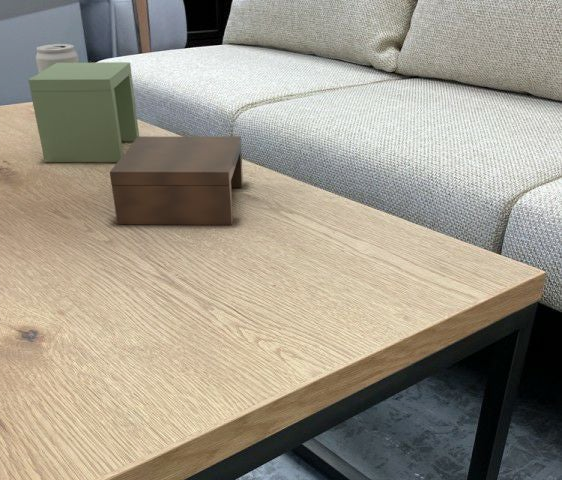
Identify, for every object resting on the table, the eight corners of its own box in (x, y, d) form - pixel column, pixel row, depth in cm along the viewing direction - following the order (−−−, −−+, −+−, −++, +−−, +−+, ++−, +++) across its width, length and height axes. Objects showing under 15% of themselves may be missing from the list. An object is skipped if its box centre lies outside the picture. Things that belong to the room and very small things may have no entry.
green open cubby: (44, 162, 99) (27, 79, 93) (69, 138, 109) (56, 62, 103) (121, 162, 98) (109, 79, 92) (139, 138, 108) (130, 62, 102)
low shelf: (117, 224, 79) (109, 171, 76) (143, 183, 91) (137, 136, 87) (231, 225, 78) (228, 171, 75) (243, 183, 90) (241, 136, 87)
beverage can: (96, 122, 117) (84, 44, 110) (72, 132, 112) (57, 50, 105) (66, 119, 119) (52, 41, 112) (40, 128, 114) (24, 48, 108)
